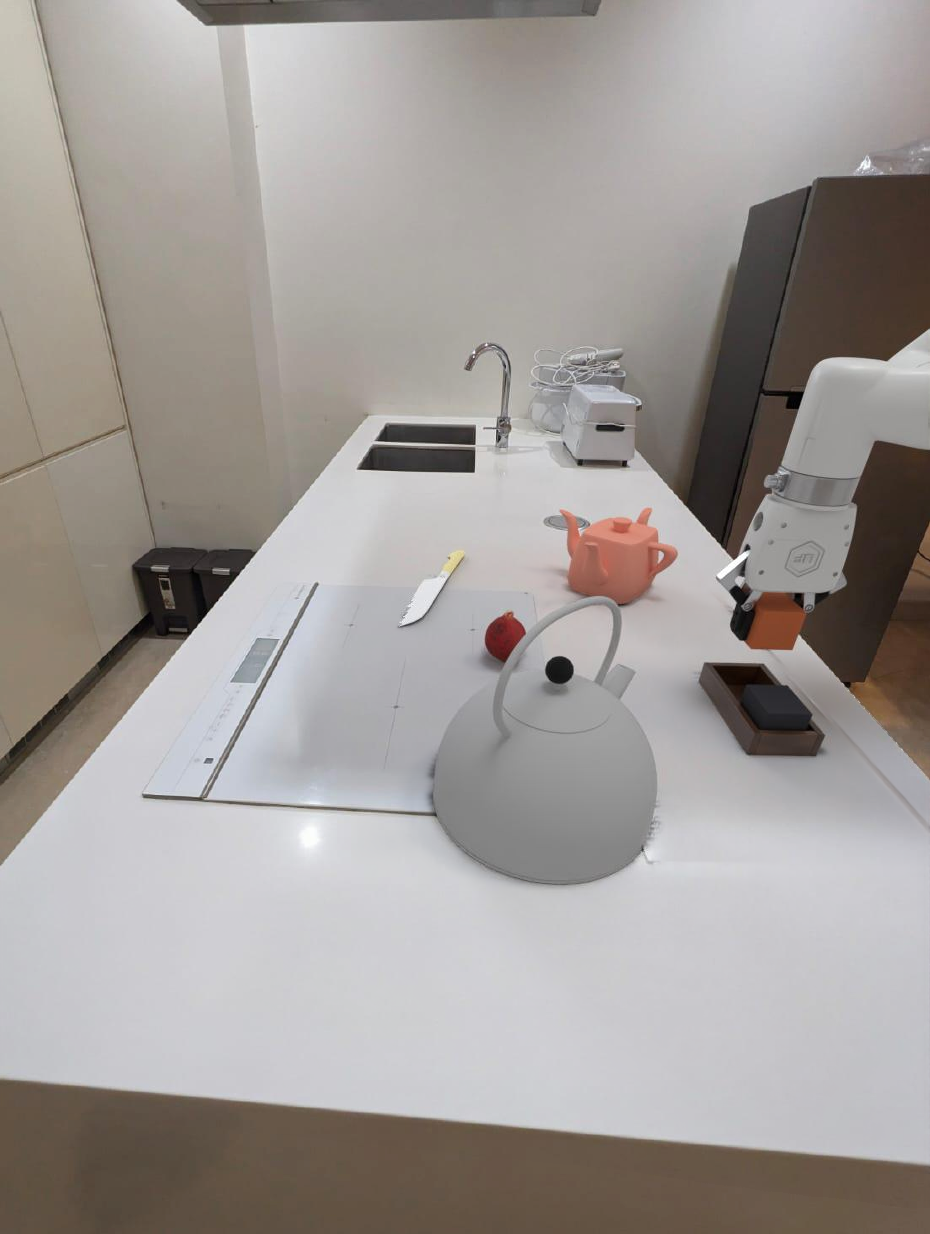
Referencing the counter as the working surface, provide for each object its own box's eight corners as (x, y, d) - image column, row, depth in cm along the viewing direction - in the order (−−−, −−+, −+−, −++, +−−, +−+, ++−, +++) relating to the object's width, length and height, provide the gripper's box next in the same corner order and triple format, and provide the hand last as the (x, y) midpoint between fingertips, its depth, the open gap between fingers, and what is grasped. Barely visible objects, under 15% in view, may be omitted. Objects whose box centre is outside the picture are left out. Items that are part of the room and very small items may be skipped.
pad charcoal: (774, 718, 79) (787, 685, 76) (798, 749, 74) (813, 714, 71) (734, 717, 79) (746, 684, 76) (755, 748, 73) (768, 713, 71)
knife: (390, 623, 98) (418, 622, 97) (442, 549, 125) (466, 547, 123) (391, 630, 99) (420, 630, 97) (443, 555, 126) (467, 554, 124)
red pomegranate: (503, 676, 87) (508, 625, 83) (474, 659, 91) (478, 609, 86) (532, 663, 90) (538, 612, 86) (503, 647, 94) (507, 598, 89)
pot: (549, 567, 120) (557, 502, 113) (638, 565, 121) (652, 501, 114) (575, 610, 104) (586, 538, 98) (677, 609, 105) (695, 537, 99)
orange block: (769, 626, 80) (782, 590, 77) (792, 650, 75) (807, 612, 72) (730, 625, 80) (742, 589, 77) (750, 649, 75) (763, 611, 72)
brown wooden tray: (755, 685, 86) (763, 663, 84) (814, 759, 73) (825, 735, 71) (697, 684, 86) (704, 661, 84) (745, 758, 73) (754, 733, 71)
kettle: (539, 702, 82) (563, 535, 70) (704, 795, 67) (769, 605, 55) (389, 788, 68) (386, 596, 55) (557, 929, 53) (602, 712, 41)
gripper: (749, 495, 64) (702, 649, 74) (915, 499, 64) (847, 653, 74) (720, 475, 70) (681, 620, 80) (872, 479, 71) (814, 623, 80)
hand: (761, 634), depth 77 cm, fingers closed on orange block, 5 cm apart
